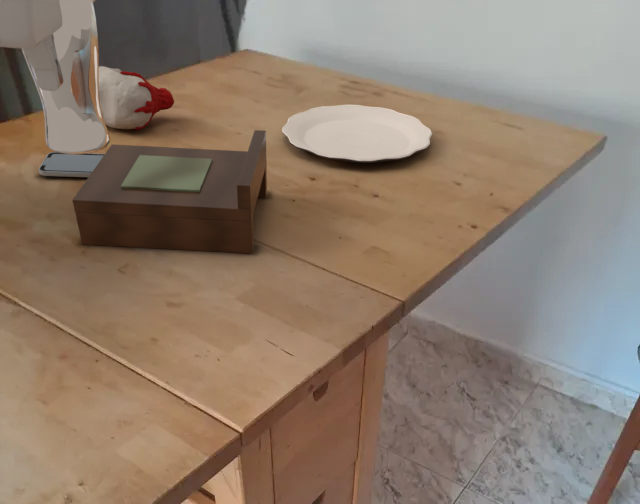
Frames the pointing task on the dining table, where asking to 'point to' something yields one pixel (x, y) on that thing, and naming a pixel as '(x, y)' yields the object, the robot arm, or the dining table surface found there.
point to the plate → (357, 133)
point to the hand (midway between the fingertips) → (65, 75)
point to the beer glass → (74, 84)
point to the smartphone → (69, 164)
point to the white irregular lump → (129, 99)
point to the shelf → (174, 198)
